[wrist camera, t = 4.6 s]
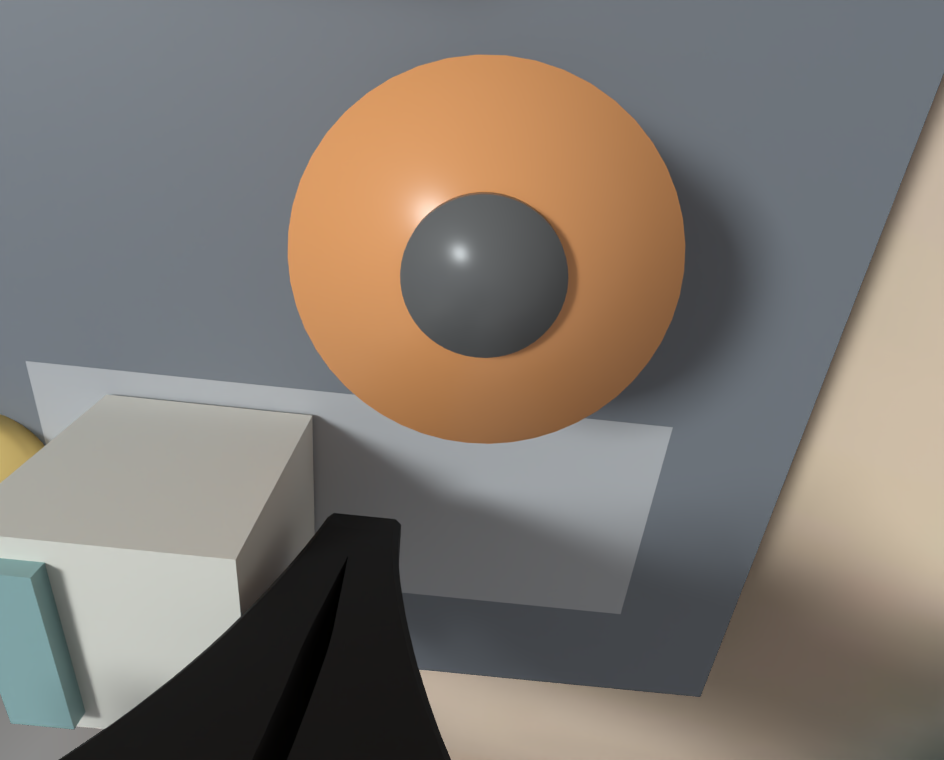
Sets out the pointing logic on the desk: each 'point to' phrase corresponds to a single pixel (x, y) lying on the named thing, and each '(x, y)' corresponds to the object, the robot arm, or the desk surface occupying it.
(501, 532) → the breaker panel
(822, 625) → the desk surface
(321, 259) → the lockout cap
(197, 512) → the block
